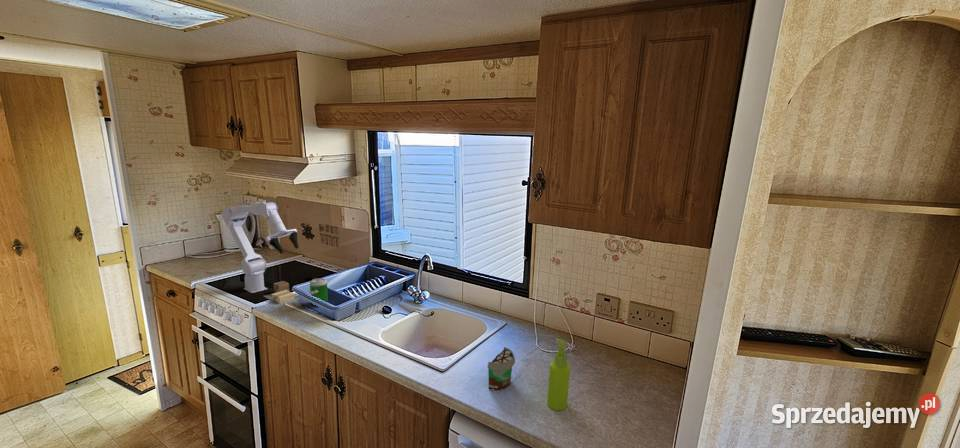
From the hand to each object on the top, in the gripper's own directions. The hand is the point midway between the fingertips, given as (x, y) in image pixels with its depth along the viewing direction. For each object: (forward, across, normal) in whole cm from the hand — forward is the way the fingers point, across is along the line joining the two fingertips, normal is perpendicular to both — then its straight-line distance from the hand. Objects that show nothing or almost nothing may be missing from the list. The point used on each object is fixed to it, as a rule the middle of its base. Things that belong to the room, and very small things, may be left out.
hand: (289, 250), depth 189 cm
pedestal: (+18, -6, +15) cm, 24 cm away
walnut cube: (+13, -2, +23) cm, 27 cm away
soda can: (+29, +2, +3) cm, 29 cm away
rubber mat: (+16, -4, +19) cm, 26 cm away
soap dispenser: (+98, +2, -97) cm, 138 cm away
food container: (+88, 0, -82) cm, 120 cm away
